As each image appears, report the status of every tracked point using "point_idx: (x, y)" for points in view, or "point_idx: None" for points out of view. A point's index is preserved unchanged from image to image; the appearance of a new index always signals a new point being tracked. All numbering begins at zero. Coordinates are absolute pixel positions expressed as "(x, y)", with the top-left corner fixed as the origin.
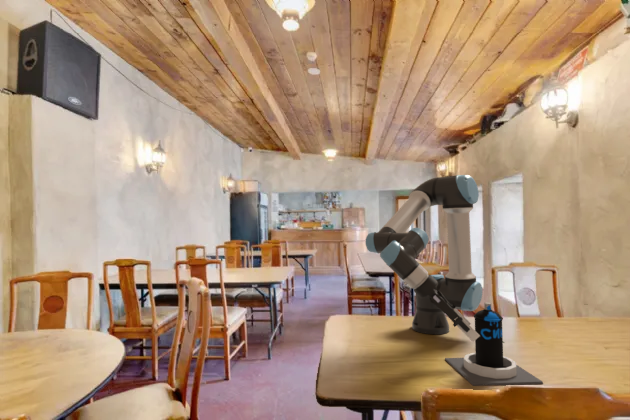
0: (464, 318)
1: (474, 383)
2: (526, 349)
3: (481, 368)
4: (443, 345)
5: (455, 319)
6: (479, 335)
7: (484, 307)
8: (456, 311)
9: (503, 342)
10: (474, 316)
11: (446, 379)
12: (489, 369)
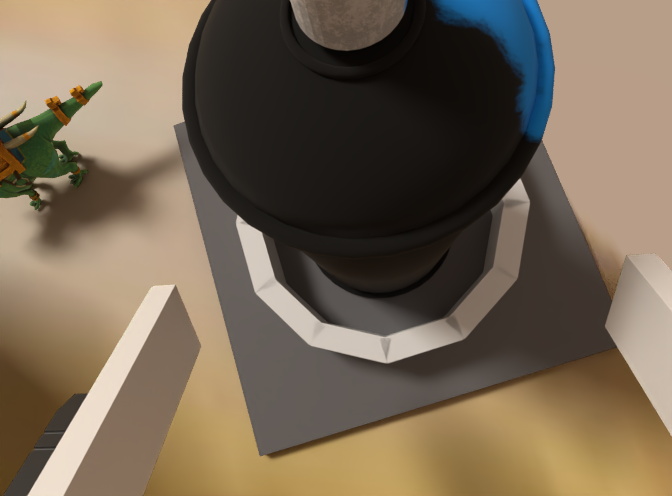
0: (146, 353)
1: None
2: (24, 6)
3: (516, 277)
4: (6, 434)
5: (152, 461)
6: (657, 258)
7: (352, 31)
8: (87, 481)
9: (99, 87)
10: (394, 251)
11: (579, 480)
12: (524, 235)
